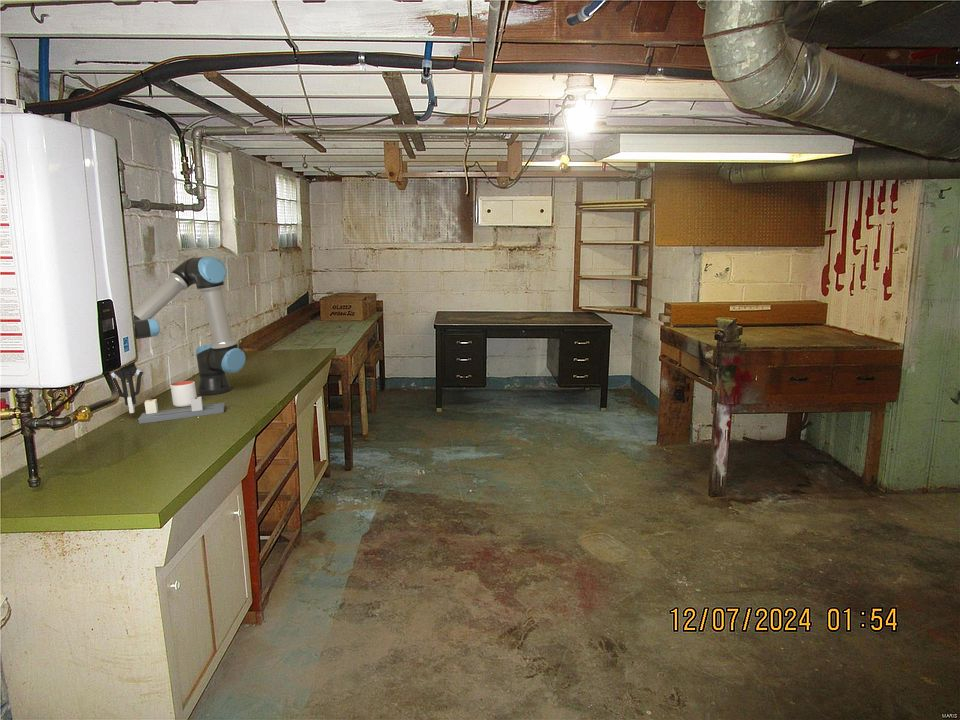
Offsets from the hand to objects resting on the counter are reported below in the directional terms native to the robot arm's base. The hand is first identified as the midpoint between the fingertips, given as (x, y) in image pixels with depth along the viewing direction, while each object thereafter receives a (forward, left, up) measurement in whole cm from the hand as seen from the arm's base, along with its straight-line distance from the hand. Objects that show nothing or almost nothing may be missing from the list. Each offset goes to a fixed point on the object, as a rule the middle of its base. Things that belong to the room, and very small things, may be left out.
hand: (132, 412), depth 264 cm
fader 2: (+6, +25, -1) cm, 26 cm away
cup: (-17, +18, -4) cm, 25 cm away
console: (+3, +19, -3) cm, 20 cm away
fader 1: (0, +7, -1) cm, 7 cm away
